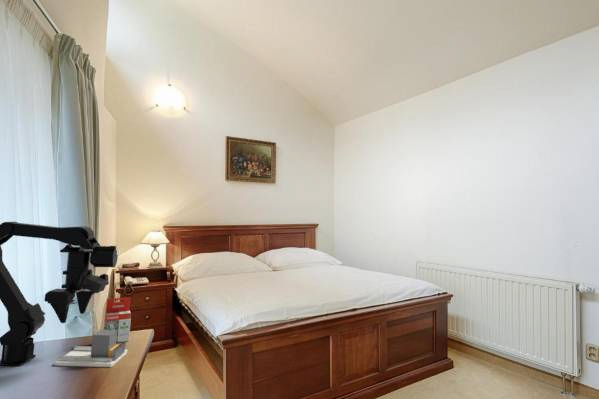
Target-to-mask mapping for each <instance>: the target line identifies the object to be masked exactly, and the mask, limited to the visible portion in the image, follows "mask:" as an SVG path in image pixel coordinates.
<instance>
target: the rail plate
mask: <svg viewBox="0 0 599 399" xmlns="http://www.w3.org/2000/svg"><path fill="white" fill-rule="evenodd" d="M117 345H118V346H117V347H116V348H115V349H113V350H112V357H94V356H91V348H92V345H91V346H89V345H88V346H87V345H85V346H83V345H81V346H80V345H76V346H74V347H73V348H74V349H72V350H71V351H69V352H67V353H66V354H65V355H60V356H59V357H58V359H57V360H56V361H54V366H60V367H61V366H62V367H63V366H64V367H94V368H95V367H98V368H112V367H113V366H114V365H116V363H118V362H119V361H120V360H121V359H122V358H123V357H125V355H126V354H128V349H127V348H126V341H125V342H120V344H117Z"/></svg>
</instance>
